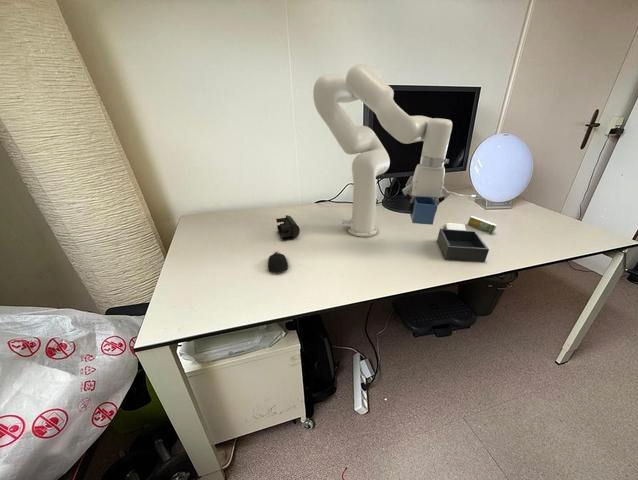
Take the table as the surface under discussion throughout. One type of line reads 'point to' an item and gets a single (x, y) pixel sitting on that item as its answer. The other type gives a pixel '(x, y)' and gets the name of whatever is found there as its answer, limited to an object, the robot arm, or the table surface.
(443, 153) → the robot arm
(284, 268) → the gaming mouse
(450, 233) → the box
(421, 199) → the blue bin
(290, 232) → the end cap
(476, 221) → the medication box
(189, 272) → the table surface
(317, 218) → the table surface
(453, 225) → the hard drive
